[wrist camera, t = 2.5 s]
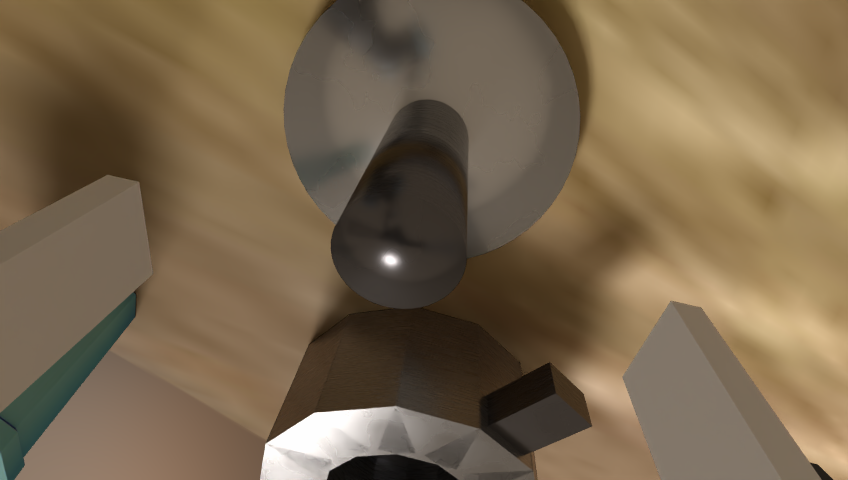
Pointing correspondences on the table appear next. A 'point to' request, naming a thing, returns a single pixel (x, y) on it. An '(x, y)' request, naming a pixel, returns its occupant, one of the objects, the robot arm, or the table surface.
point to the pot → (417, 405)
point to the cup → (56, 389)
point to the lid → (428, 136)
